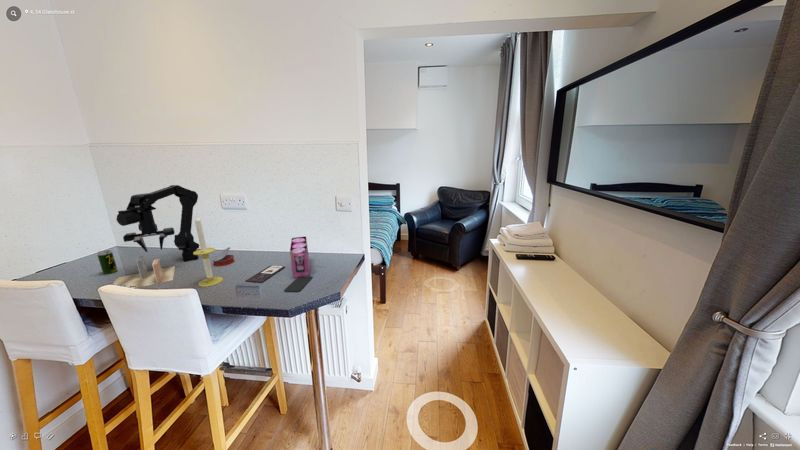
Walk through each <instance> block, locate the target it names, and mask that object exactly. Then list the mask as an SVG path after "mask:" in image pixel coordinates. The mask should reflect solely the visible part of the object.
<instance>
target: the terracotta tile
mask: <svg viewBox="0 0 800 450" xmlns="http://www.w3.org/2000/svg"><path fill="white" fill-rule="evenodd" d="M151 265H152V269H153V270H154V273H155V277H156V281H157V284H159V283H158V282H162V279H163V272H162V269H163V268H162V266H161V262H160V259H159V258H155V259H153V262H152V264H151ZM153 270H152V271H153ZM162 283H163V282H162Z"/></svg>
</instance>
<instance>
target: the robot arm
mask: <svg viewBox="0 0 800 450" xmlns="http://www.w3.org/2000/svg"><path fill="white" fill-rule="evenodd" d="M173 195H174V196H175V197H177V198H179V199H178V201H179V202H180V205H181V217H180V224H179V225H180V226H179V227H180V229H179V232H178V234H175V229H174V227H172V226H170V227H166V228H163V229H162V230H159V229H158V224H157V223H156V222H155V218H154V214H153V211H154V210H156V209H157V208H156V207H154V206H153V205H154V204H155V203H156V202H157V201H158V200H161V199H164V198H167V197H170V196H173ZM198 199H199V195H198V193H197V192H196V191H194V190H191V189H189V188H185V187H182V186H181V185H179V184H171V185H169V186H167V187H163V188H161V189H157V190H155V191H152V192H149V193H148V192H147V193H146V192H145V193H140V194H139V193H137V194H133V195H131V197H130V199H129V200H130V201H129V203H128V205H127V207H126V209H124V210H118V212H117V213H118V214H117V215H116V218H115V219H116V222H117V224H119V225H120V226H122V227H124V226H129V225H133V224H138V230H139V231H140V232H141V233H136V232H129V233H128V232H127V233H126V234H124V235H123V238H122V239H123V242H124V243H127V242H132V241H133V243H136V244H138V246H140V247H141V248H142V249H143V250H144V251H145V252H146V253H148V248H147V245H146V243H145V241H144V238H146V237H154V236H158V240H159V241H158V242H159V248H160V250H161V251H162V250H163V248H164V247H163V246H164V241H165V238H167V237H168V236H173V235H174V240H173V243H174V246H175V247H176V248H177V249H178V250H179V251H181V257H182V261H184V263H186V261H187V262H192V261H197V259H198V260H199V255H194V254H193V252H195V251H197V250H199V249H200V243H197V242H196V241H195V240H194V239H195V238H194V235H193V233H192V225H193V214H194V213H193V210H194V207H195V205H196V204H197V202H198Z"/></svg>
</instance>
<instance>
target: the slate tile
mask: <svg viewBox="0 0 800 450" xmlns="http://www.w3.org/2000/svg"><path fill="white" fill-rule="evenodd" d="M136 265H137V269H138V273H140V276H141V278H146V276H147V274H148V271H149V270H148V267H147V262H146V259H145V255H139V256H138V257H137V259H136Z"/></svg>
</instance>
